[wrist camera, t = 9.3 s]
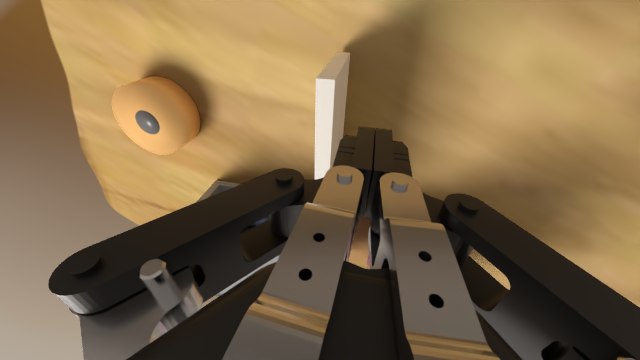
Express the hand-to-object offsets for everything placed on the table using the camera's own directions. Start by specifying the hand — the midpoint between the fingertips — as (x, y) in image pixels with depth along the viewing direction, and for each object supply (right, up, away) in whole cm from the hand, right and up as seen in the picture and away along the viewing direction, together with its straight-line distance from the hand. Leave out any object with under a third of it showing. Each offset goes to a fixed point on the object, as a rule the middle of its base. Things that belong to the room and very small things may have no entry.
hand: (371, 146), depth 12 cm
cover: (-1, +3, +12) cm, 12 cm away
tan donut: (-18, +6, +14) cm, 24 cm away
